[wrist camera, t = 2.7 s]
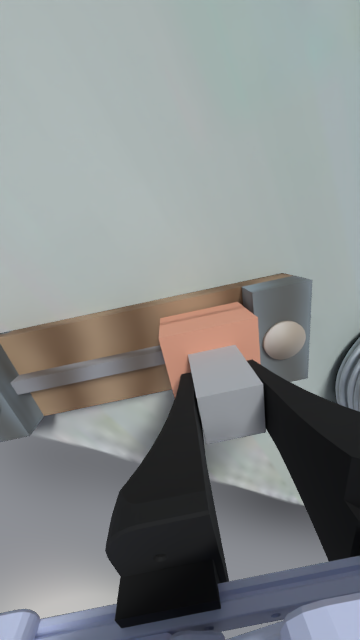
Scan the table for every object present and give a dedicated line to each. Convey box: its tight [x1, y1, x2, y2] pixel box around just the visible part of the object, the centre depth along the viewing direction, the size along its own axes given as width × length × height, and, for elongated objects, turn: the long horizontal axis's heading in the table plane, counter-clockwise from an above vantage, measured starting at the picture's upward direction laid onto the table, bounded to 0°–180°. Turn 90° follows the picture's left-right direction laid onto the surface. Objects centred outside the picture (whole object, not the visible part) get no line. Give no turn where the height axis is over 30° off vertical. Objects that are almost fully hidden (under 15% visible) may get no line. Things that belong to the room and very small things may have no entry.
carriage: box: [159, 302, 266, 444], centre depth 12 cm, size 6×6×7 cm
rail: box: [0, 273, 312, 442], centre depth 16 cm, size 27×8×4 cm, turn 101°
